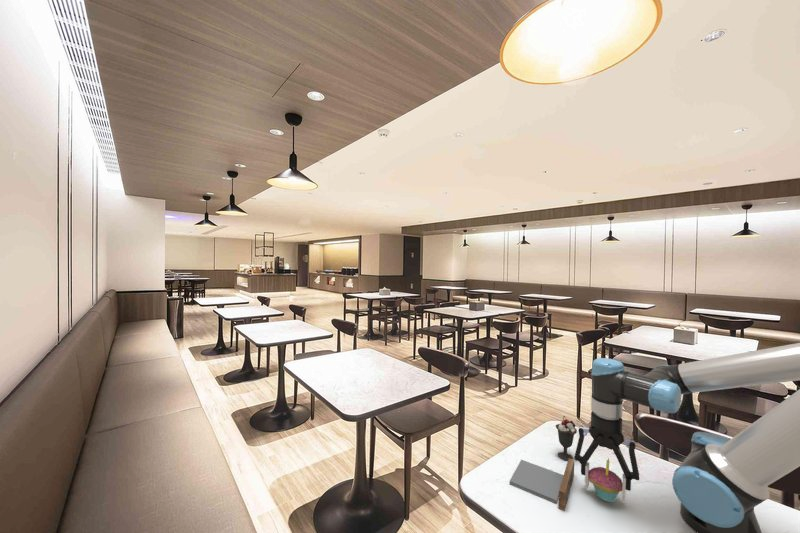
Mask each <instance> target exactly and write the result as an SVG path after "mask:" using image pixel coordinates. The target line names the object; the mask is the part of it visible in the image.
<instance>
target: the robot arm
mask: <svg viewBox="0 0 800 533" xmlns="http://www.w3.org/2000/svg"><path fill="white" fill-rule="evenodd" d="M591 369H592V370H591V395H590V396H591V397H590V398H591V401H590V410H591V413H590V426H589V427H584V426H583V425H579V427H578V429H577V432H578V437H579V438H578V441H577V444H576V449H575V454H574V457H573V460H574V461H575V462H579V463H580V474H581V475H582V476H584V489H586V490H589V485H590V481H589V479H588V475H589V470H590V462H589V460H590V459H591V457H592V456H593V454H594V452H595V451H596V449H597V448H598V447H601V448H607V449H608V450H612V451H613V453H614V456H615V457H616V459H617V462H618V463H619V467H620V468H621V470H622V472H623V473H622V479H621V480H622V493H621V503H626V495H627V494H626V491H629V492H631V490H632V480H635V481H639V480H640V471H639V466H638V462H637V457H636V452H635V449H636V440H635V439H634V438H630V439H629V438H627V437H625V436H624V435H623V418H622V417H623V407H624V406H623V404H624V403H623V402H624V400H625V401H628V402H632V403H635V404H639V405H641V406H644V407H647V408H650V409H654V410H655V411H659V412H664V413H669V414H675V413H677V412H678V411H679V408H680V407H681V406H680V405H681V402H682V395H688V394H694V393H702V392H711V391H719V390H729V389H736V388H737V389H739V388H744V387H752V386H755V387H756V386H762V385H769V384H778V383H788V382H789V383H790V382H797V381H800V342H796V343H790V344H785V345H779V346H774V347H770V348H769V347H768V348H763V349H758V350H751V351H747V352H742V353H741V352H740V353H735V354H731V355H725V356H717V357H713V358H712V357H711V358H707V359H701V360H696V361H695V360H694V361H689V362H683V363H679V364H674V365H673V364H671V365H668V364H664V365H659V366H656V367H655V368H653V369H651V370H650V371H649V372H647V373H646V374H638V373H634V372H630V371H626V370H625V367H624V363H622V362H621V361H619V360H616V359H613V358H607V357H599V358H595V359H593V360H592V368H591ZM588 434H589V436H591V438H592V442H591V443H590V445H589V446H588V448H587V449H586V451H585V453H584V454H583V455H581V451H582V448H583V445H584V440H585V437H586V436H587V435H588ZM690 440H691V441H690V442H691V451H690V453H688V455H687V456H686V457H685V458H684V459H683V461H682V462H681V463H680V465H679V466H678V467H677V468H676V469H675V470H674V471H673V476H672V483H671V484H672V488H673V491H674V493H675V495H676V497H677V499H678V500H679V502H680V507H679V509H680V511H679V512H680V516H681V518H682V519H683V521H684V522H685V523H686V525H688V526H689V527H690V528H691V529H692V530H694V532H696V533H697V532H698V533H763V532H762V529H761V527H760V524H759V522H758V519H757V516H756V514H755V508H756V507H757V506H758V505H761V504H762V503H764V502H765V501H767V500H768V499H770V497H771V494H770V491H769V490H770V489H769V486H770V485H771V484H773V483H775V482H776V481H778V480H780V479H781V478H783V477H785V476H786V475H788V474H790V473H792V472H793V471H794V470H796V469H798V468H799V467H800V388H799V389H798V390H796V391H795V392H794V393H792V394H791V395H790V396H788V397H787V398H784V400H783V401H781V402H780V403H779V404H776V406H774V407H773V408H772V409H770V410H769V411H768V412H766V413H765V414H764V415H762V416H761V417H760V418H758V419H757V420H755V421H754V422H752V423H751V424H750V425H748V426H747V427H745V428H744V429H743V430H742V431H740V432H738V434H736V435H734V436H732V438H730V437H727V436H724V435H720V434H717V433H716V434H715V433H712V432H706V431H696V432H695V431H694V433H692V437H691V439H690ZM623 443H624V444H625V447H626V448H628V454H629V459H630V460H629V461H630V463H631V470H632V471H631V470H630V468H629V466H628V463H627V461H626V459H625V457H624V455H623V452H622V450H621V448H620V445H621V444H623Z"/></svg>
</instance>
